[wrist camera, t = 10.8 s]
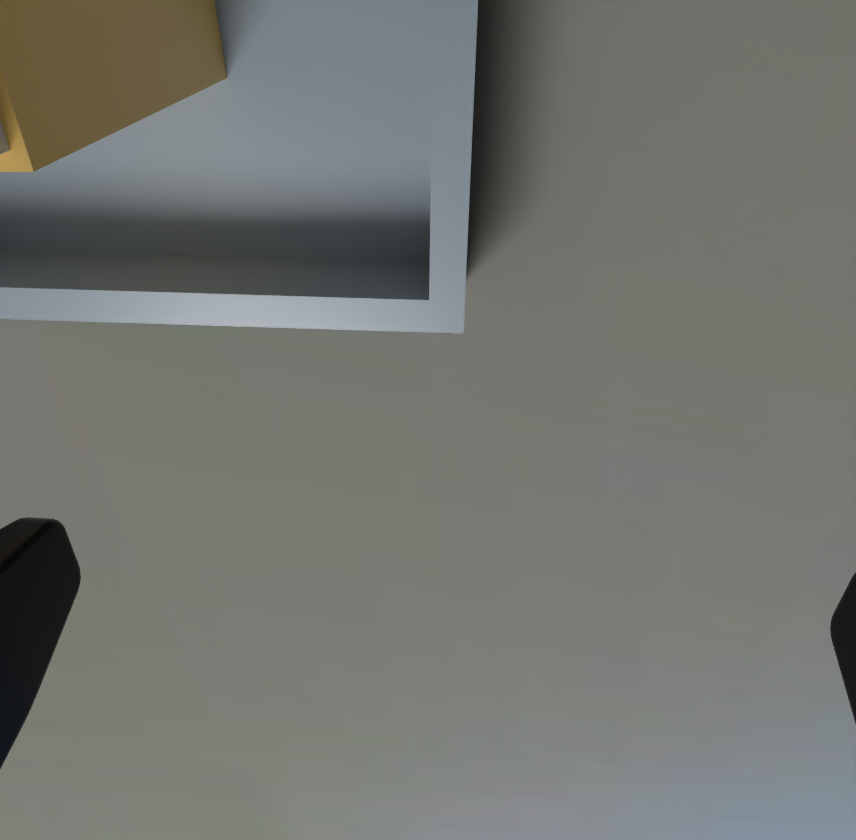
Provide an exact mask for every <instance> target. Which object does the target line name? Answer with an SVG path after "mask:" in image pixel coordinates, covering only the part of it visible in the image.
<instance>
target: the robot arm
mask: <svg viewBox="0 0 856 840" xmlns="http://www.w3.org/2000/svg"><path fill="white" fill-rule="evenodd" d="M80 578H81V575H80V568H79V565H78V562H77V559H76V557H75V554H74V551H73V549H72V546H71V543H70V541H69V538H68V535H67V533H66V530H65V528H64V526H63V525H62V524H61V523H60V522H59V521H58V520H55V519H46V518H29V517H28V518H21V519H18V520H16V521H14V522H12V523H11V524H9V525H7V526H5V527H3V528H2V529H0V769H1V767H2V765H3V763H4V761H5V759H6V757H7V755H8V753H9V751H10V749H11V747H12V745H13V743H14V741H15V740H16V738H17V736H18V734H19V732H20V730H21V728H22V726H23V724H24V722H25V720H26V718H27V716H28V713H29V711H30V709H31V707H32V705H33V702H34V700H35V698H36V695H37V693H38V691H39V688H40V686H41V683H42V681H43V678H44V676H45V673H46V670H47V668H48V665H49V663H50V660H51V658H52V655H53V653H54V650H55V648H56V645H57V643H58V640H59V638H60V635H61V633H62V630H63V628H64V625H65V622H66V620H67V617H68V615H69V612H70V610H71V607H72V605H73V602H74V600H75V597H76V595H77V592H78V589H79V585H80ZM830 631H831V638H832V642H833V646H834V649H835V653H836V656H837V660H838V663H839V667H840V671H841V674H842V678H843V681H844V685H845V688H846V692H847V695H848V699H849V702H850V706H851V709H852V713H853V716H854V720H855V723H856V573H855V574H854V575H853V577H852V579H851V580H850V582H849V584H848V586H847V588H846V590H845V592H844V594H843V596H842V598H841V600H840V602H839V604H838V606H837V608H836V610H835V612H834V614H833V616H832V620H831V627H830Z"/></svg>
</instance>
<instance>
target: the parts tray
mask: <svg viewBox="0 0 856 840" xmlns="http://www.w3.org/2000/svg"><path fill="white" fill-rule="evenodd" d="M215 6H216V12H217V18H218V25H219V31H220V37H221V44H222V50H223V56H224V63H225V69H226V75H227V78H226V79H224V80H222V81H220V82H218V83H216V84H214V85H212V86H210V87H208V88H206V89H204V90H201V91H199V92H197V93H195V94H193V95H191V96H189V97H187V98H185V99H183V100H181V101H179V102H177V103H175V104H173V105H171V106H169V107H166V108H164V109H162V110H160V111H158V112H156V113H154V114H152V115H150V116H148V117H146V118H144V119H142V120H140V121H138V122H136V123H133V124H131V125H129V126H127V127H125V128H123V129H121V130H119V131H117V132H115V133H113V134H111V135H109V136H107V137H105V138H103V139H100V140H98V141H96V142H94V143H92V144H90V145H88V146H86V147H84V148H82V149H80V150H78V151H76V152H74V153H72V154H70V155H67V156H65V157H63V158H61V159H59V160H57V161H55V162H53V163H51V164H49V165H47V166H45V167H43V168H41V169H39V170H37V171H34V172H0V319H23V320H54V321H86V322H118V323H149V324H181V325H213V326H244V327H276V328H308V329H339V330H371V331H402V332H434V333H464V310H465V288H466V265H467V243H468V220H469V197H470V175H471V152H472V130H473V107H474V84H475V62H476V39H477V16H478V0H215Z"/></svg>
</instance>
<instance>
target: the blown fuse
mask: <svg viewBox="0 0 856 840" xmlns="http://www.w3.org/2000/svg"><path fill="white" fill-rule="evenodd" d="M226 78H227V75H226V69H225V63H224V56H223V50H222V44H221V37H220V31H219V25H218V18H217V12H216V6H215V0H0V172H34V171H37V170H39V169H41V168H43V167H45V166H47V165H49V164H51V163H53V162H55V161H57V160H59V159H61V158H63V157H65V156H67V155H70V154H72V153H74V152H76V151H78V150H80V149H82V148H84V147H86V146H88V145H90V144H92V143H94V142H96V141H98V140H100V139H103V138H105V137H107V136H109V135H111V134H113V133H115V132H117V131H119V130H121V129H123V128H125V127H127V126H129V125H131V124H133V123H136V122H138V121H140V120H142V119H144V118H146V117H148V116H150V115H152V114H154V113H156V112H158V111H160V110H162V109H164V108H166V107H169V106H171V105H173V104H175V103H177V102H179V101H181V100H183V99H185V98H187V97H189V96H191V95H193V94H195V93H197V92H199V91H201V90H204V89H206V88H208V87H210V86H212V85H214V84H216V83H218V82H220V81H222V80H224V79H226Z"/></svg>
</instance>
